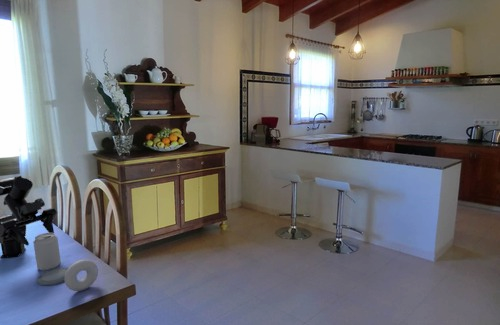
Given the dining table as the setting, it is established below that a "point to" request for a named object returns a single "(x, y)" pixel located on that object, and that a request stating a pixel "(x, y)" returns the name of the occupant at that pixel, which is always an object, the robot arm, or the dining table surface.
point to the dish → (52, 277)
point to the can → (47, 251)
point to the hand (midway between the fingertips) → (41, 239)
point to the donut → (85, 282)
